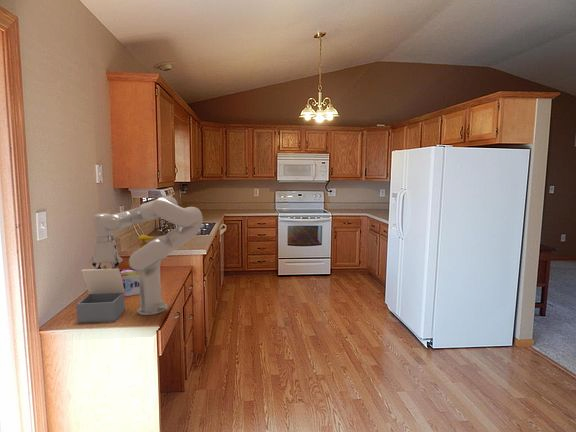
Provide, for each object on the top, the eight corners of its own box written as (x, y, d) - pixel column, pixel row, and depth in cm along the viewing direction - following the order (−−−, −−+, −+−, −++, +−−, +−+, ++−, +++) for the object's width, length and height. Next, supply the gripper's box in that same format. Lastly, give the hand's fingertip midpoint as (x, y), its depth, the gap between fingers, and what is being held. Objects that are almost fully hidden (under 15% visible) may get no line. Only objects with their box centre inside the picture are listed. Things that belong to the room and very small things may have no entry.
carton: (90, 311, 180) (89, 293, 179) (125, 310, 182) (123, 292, 181) (77, 323, 166) (76, 304, 165) (114, 321, 168) (113, 302, 167)
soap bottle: (151, 284, 223) (149, 236, 219) (134, 284, 223) (131, 236, 220) (159, 278, 236) (157, 233, 232) (143, 278, 236) (141, 233, 232)
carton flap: (88, 293, 179) (92, 286, 184) (124, 292, 181) (127, 284, 186) (81, 270, 172) (85, 262, 176) (118, 269, 173) (121, 261, 178)
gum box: (148, 288, 215) (147, 265, 214) (151, 292, 209) (150, 268, 207) (102, 296, 203) (100, 272, 201) (104, 300, 196) (102, 275, 194)
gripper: (125, 237, 183) (127, 273, 185) (88, 238, 181) (91, 274, 183) (120, 240, 176) (122, 277, 178) (82, 241, 174) (85, 278, 176)
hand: (106, 275), depth 181 cm, fingers open, 6 cm apart
